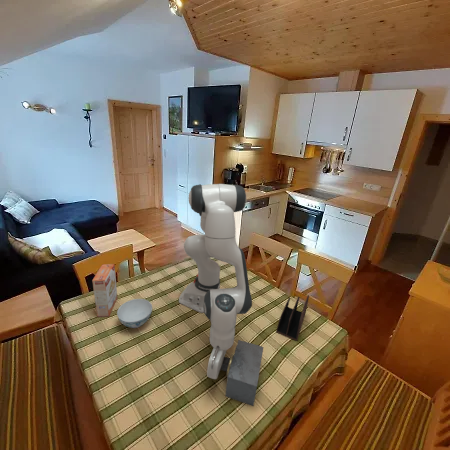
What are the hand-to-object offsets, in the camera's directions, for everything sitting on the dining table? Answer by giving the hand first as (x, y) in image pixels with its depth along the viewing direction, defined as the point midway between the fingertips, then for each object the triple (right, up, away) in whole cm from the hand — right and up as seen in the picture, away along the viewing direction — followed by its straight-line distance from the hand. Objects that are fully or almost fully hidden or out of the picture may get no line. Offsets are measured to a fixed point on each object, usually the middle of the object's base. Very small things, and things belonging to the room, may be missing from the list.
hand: (219, 363), depth 89 cm
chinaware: (-40, +7, +21) cm, 45 cm away
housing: (+9, -6, -1) cm, 11 cm away
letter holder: (+35, +3, +28) cm, 45 cm away
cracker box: (-57, +11, +29) cm, 65 cm away
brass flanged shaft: (+4, -3, 0) cm, 5 cm away
